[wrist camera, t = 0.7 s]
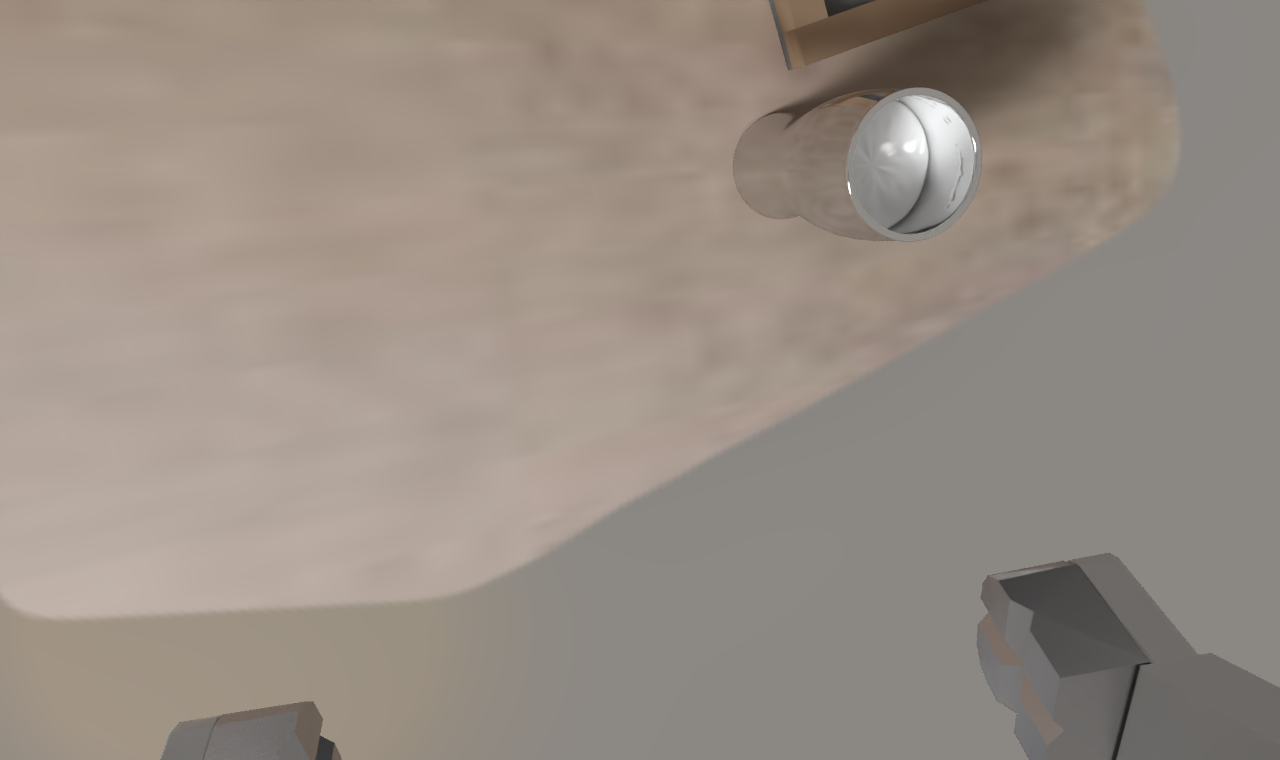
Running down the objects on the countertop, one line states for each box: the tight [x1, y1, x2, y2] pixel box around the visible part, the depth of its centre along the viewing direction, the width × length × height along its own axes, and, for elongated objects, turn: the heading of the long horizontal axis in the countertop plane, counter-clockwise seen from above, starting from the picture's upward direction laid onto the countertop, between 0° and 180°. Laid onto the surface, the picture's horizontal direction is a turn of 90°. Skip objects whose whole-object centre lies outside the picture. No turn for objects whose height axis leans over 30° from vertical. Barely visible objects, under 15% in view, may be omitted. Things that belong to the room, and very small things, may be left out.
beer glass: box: [733, 87, 982, 242], centre depth 47 cm, size 7×7×15 cm
